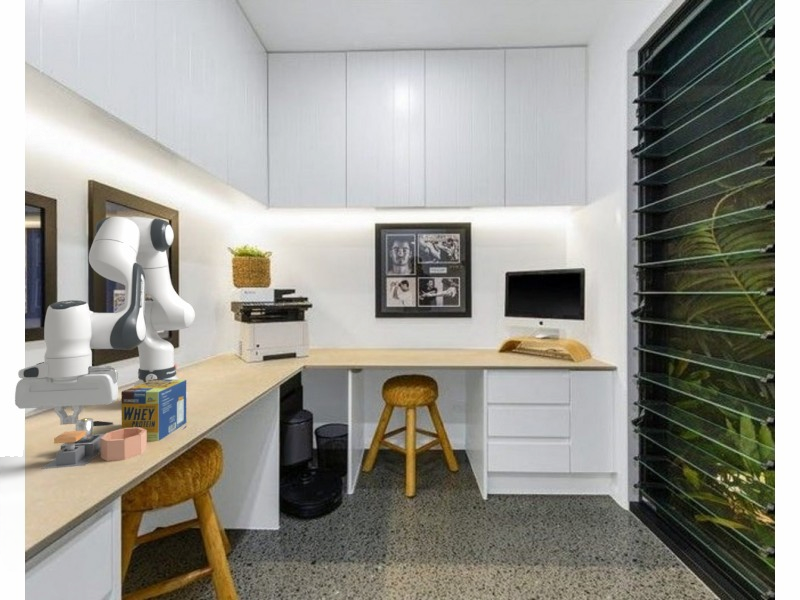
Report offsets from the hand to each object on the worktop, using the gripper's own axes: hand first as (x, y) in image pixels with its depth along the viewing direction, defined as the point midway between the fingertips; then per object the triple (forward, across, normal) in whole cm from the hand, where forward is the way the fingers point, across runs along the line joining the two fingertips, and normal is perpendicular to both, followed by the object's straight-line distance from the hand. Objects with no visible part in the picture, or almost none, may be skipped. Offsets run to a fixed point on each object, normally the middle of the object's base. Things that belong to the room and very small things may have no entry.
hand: (69, 423), depth 96 cm
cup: (+11, -10, -3) cm, 15 cm away
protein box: (+11, -13, -18) cm, 25 cm away
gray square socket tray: (+11, 0, -4) cm, 12 cm away
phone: (+11, +10, -26) cm, 30 cm away
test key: (+7, 0, 0) cm, 7 cm away
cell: (+9, 0, -7) cm, 12 cm away
